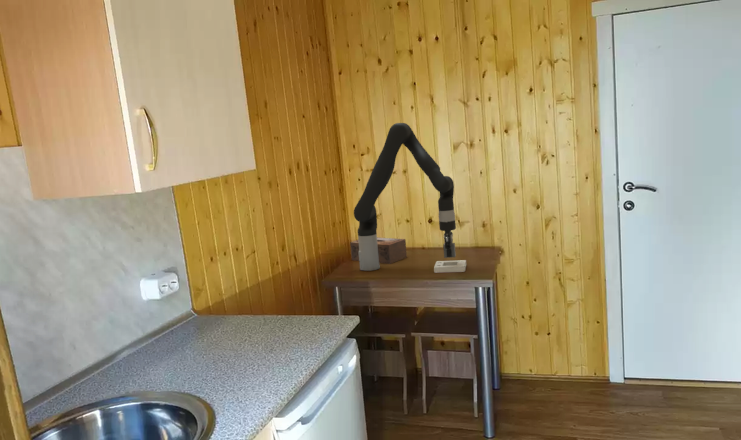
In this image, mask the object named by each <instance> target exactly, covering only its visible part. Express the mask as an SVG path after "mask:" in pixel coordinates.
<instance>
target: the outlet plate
mask: <svg viewBox="0 0 741 440" xmlns="http://www.w3.org/2000/svg"><path fill="white" fill-rule="evenodd" d="M466 269H467V259H462V260H461V259H459V260H458V259H457V260H437V261H435V264H434V267H433V272H434V273H435V274H436V273H437V274H438V273H462V272H463V273H465V272H466Z"/></svg>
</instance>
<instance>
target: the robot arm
mask: <svg viewBox="0 0 741 440" xmlns="http://www.w3.org/2000/svg"><path fill="white" fill-rule="evenodd" d="M402 145H403V146H404V147H406V149H407V150H408V151H409V153H410V154H411V155H412V157H413V158H414V161H415V162H416V164H417V165H418V167H419V168H420V169H421V171H423V173H424V174H425V175H426V176H427V178H428V179H429V181H430V183H431V185H432V186H433V188H434V189H435V190H436V191H437V192H439V198H438V201H437V205H438V207H437V208H438V225H439V230H440V231H442V232H443V231H444V233H443V241H444V243H445V249H446V251H447V257H451V256H452V252H451V248H452V247H451V244H452V243H454V241H453V240H454V239H453V237H454V233H453V232H452V231H454V230H456V228H457V227H456V226H457V224H456V214H455V206H454V205H455V204H454V193H455V192H454V191H455V184H454V180H453V178H451V177H450V176H448V175H444V174H443V173H442V172H441V171H442V170H441V167H440V166H439V164H438V163H437V162H436V161H435V159H434V158H432V157H433V156H431V155H430V154H429V153H428V151H427V150H426V148H424V147H423V145H422V143H421V142H420V141H419V139H418V138H417V136H416V135H415V133H414V131H413V130H412V128H411V126H410V125H409V124H408V123H405V122H396V123H394V124H393V125H391V126H390V128H389V130H388V132H387V135H386V139H385V143H384V145H383V147H382V149H381V152H380V154H379V155H378V158H377V159H376V160H377V161H375V165H374V166H373V168H372V170H371V173H370V176H369V178H368V181H367V182H366V185H365V188H364V191H363V192H362V194H361V196H360V198H359V200H358V202H357V203H356V205H355V207H354V208H353V209H354V210H353V216H354V219H355V220H356V221H357V222H358V223H359V225H358V229H357V238H358V239H357V240H358V241H359V251H358V253H359V261H358V262H359V270H360V271H365V272H367V271H368V272H370V271H376V270H379V269H380V268H381V267H380V266H381V265H380V263H379V254H378V243H377V237H378V235H377V230H378V217H377V208H376V206H375V204H376V202H377V200H378V198H379V196H380V195H381V194H382V192H383V191H384V190H385V188H386V187H387V185H388V184H389V182H390V179H391V178H392V175H393V173H394V169H395V166H396V160H397V155H398V152H399V151H400V149H401V147H402ZM444 243H443V244H444ZM447 244H449V246H447ZM451 258H452V257H451Z"/></svg>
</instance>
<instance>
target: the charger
mask: <svg viewBox="0 0 741 440" xmlns="http://www.w3.org/2000/svg"><path fill="white" fill-rule="evenodd" d="M447 246H449V244H447ZM442 247H443V258H445V259H448V258H450V259H451V258H456V242H453V243H452V244H451V247H452V248H451V252H452V256H451V257H447V251H446V249H445V243H443V245H442Z"/></svg>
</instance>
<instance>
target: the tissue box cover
mask: <svg viewBox="0 0 741 440" xmlns="http://www.w3.org/2000/svg"><path fill="white" fill-rule="evenodd" d="M377 243H378V254H379V264H390V265H391V264H394V263H396V262H398V261H401V260H403V259H406V258H407V257H408V255H407V245H406V243H407V242H406V238H391V237H378V236H377ZM349 244H350V254H351V261H358V262H359V253H358V251H359V241H358V239H356V240H353V241H350V243H349Z"/></svg>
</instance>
